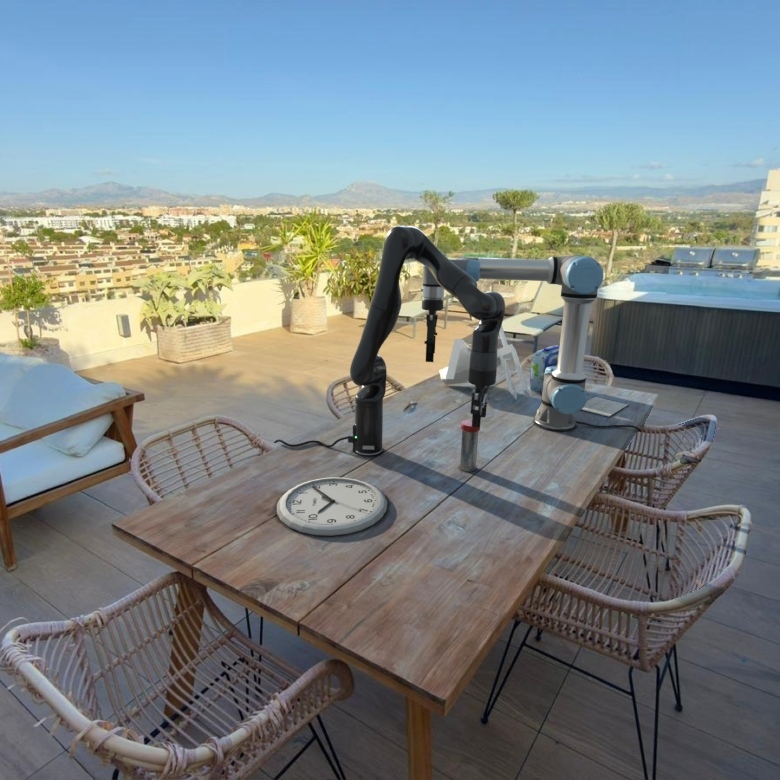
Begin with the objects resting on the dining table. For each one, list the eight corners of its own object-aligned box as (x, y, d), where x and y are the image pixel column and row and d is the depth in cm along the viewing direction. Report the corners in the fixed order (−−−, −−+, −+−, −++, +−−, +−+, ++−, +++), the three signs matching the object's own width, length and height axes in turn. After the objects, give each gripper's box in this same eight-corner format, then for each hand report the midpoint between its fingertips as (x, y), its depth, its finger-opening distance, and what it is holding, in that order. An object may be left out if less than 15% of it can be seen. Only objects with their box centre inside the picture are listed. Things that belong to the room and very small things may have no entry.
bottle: (456, 468, 166) (459, 424, 162) (466, 463, 170) (469, 420, 165) (469, 473, 163) (472, 428, 158) (478, 468, 166) (482, 424, 162)
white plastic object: (461, 429, 252) (437, 405, 227) (444, 352, 274) (420, 323, 250) (535, 404, 240) (518, 377, 215) (510, 326, 262) (492, 293, 237)
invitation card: (608, 416, 214) (573, 407, 224) (608, 416, 214) (573, 408, 224) (628, 404, 229) (594, 396, 238) (628, 405, 229) (594, 397, 238)
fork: (400, 411, 216) (400, 406, 215) (412, 399, 230) (412, 395, 230) (406, 412, 215) (406, 407, 215) (418, 400, 230) (418, 396, 229)
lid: (457, 428, 162) (457, 422, 162) (469, 424, 166) (469, 418, 165) (472, 433, 158) (472, 427, 158) (483, 429, 162) (484, 423, 162)
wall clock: (392, 527, 129) (268, 531, 127) (391, 533, 130) (269, 537, 127) (383, 473, 158) (282, 475, 155) (383, 478, 158) (282, 480, 156)
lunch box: (546, 398, 236) (551, 353, 229) (525, 393, 243) (529, 349, 237) (573, 387, 253) (579, 344, 247) (553, 382, 260) (558, 341, 254)
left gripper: (474, 359, 150) (471, 412, 155) (463, 371, 138) (460, 428, 142) (500, 361, 148) (496, 415, 153) (492, 374, 135) (487, 432, 140)
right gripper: (424, 293, 195) (422, 349, 202) (419, 302, 172) (417, 365, 178) (444, 294, 195) (441, 350, 201) (442, 303, 171) (439, 366, 177)
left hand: (478, 421), depth 148 cm, fingers open, 8 cm apart
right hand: (430, 357), depth 190 cm, fingers open, 13 cm apart
